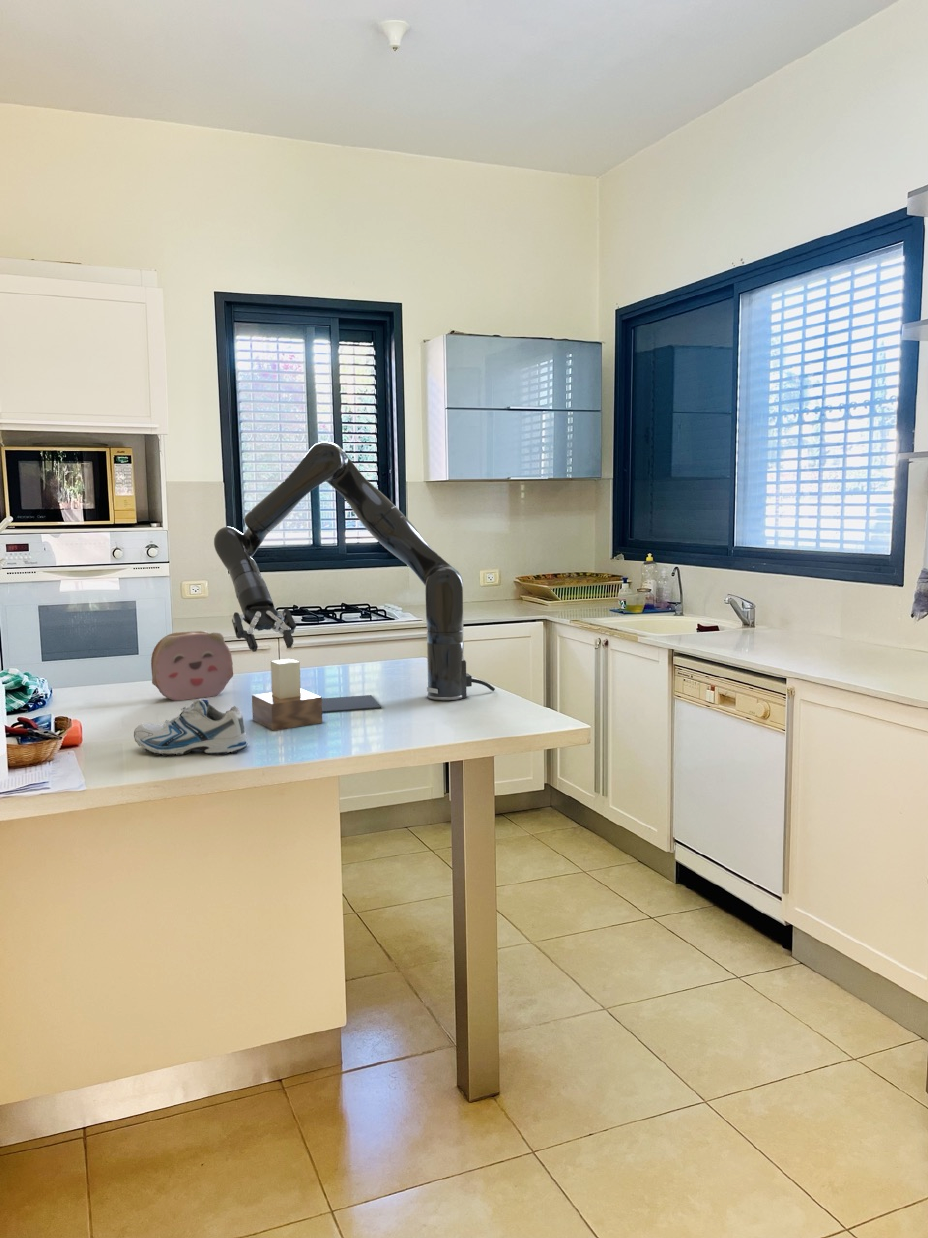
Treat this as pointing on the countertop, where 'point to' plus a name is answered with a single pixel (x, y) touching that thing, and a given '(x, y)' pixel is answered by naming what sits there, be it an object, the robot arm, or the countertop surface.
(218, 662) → the face sculpture
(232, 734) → the athletic shoe
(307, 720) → the brown box
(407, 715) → the countertop surface
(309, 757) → the countertop surface
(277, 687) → the cream box
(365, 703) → the rubber mat
